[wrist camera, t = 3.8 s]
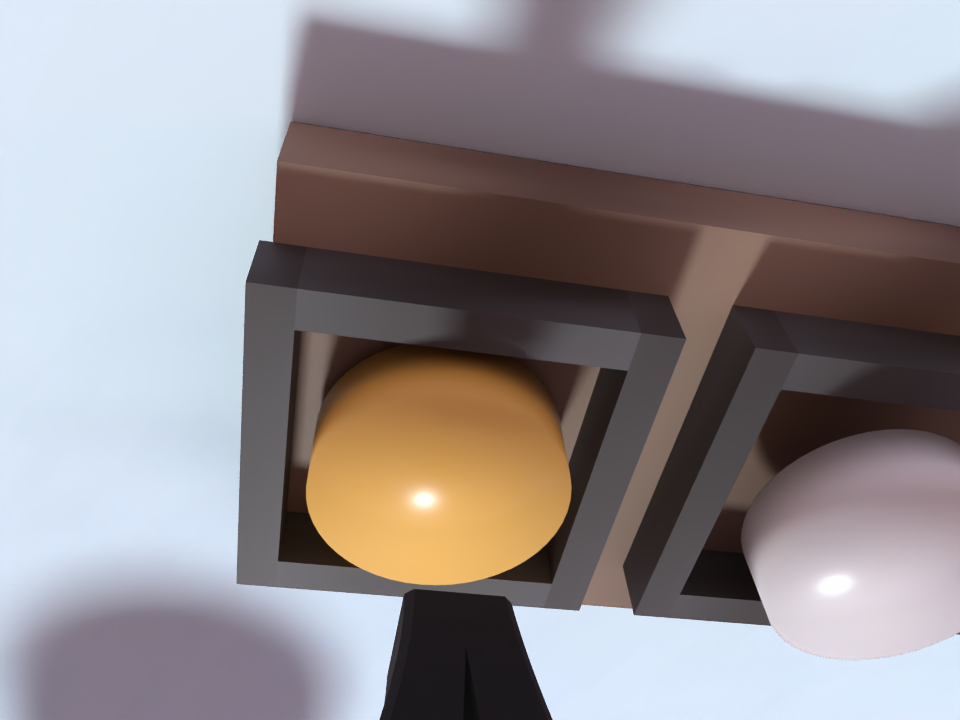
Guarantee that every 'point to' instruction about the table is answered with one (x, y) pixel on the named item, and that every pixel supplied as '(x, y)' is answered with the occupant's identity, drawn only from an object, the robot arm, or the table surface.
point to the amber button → (438, 465)
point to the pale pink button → (861, 545)
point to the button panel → (590, 350)
